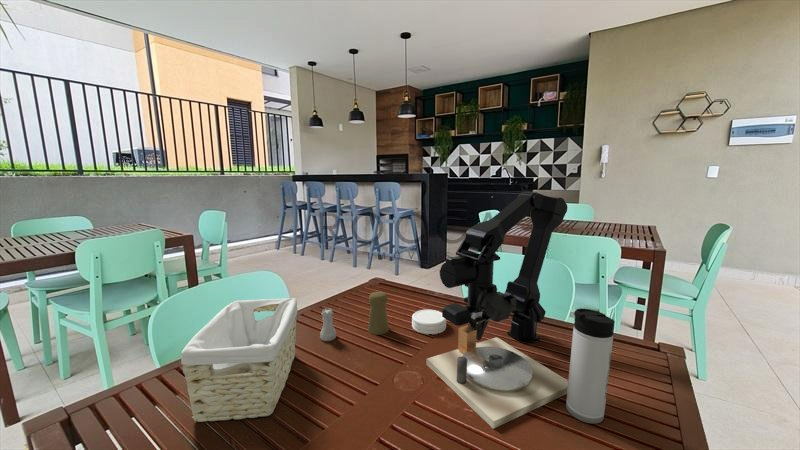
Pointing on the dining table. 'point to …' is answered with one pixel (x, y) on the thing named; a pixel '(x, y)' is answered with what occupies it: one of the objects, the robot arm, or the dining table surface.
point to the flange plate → (498, 376)
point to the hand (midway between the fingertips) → (478, 339)
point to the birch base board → (493, 403)
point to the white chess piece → (327, 326)
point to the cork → (378, 314)
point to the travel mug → (589, 365)
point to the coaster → (428, 322)
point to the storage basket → (240, 360)
